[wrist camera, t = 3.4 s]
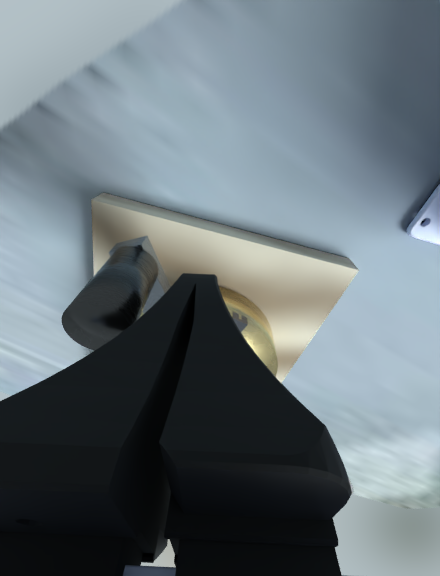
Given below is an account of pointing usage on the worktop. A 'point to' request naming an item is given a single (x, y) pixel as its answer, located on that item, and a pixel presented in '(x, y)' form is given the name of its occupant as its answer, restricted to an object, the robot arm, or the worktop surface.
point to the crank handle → (148, 302)
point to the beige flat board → (233, 266)
